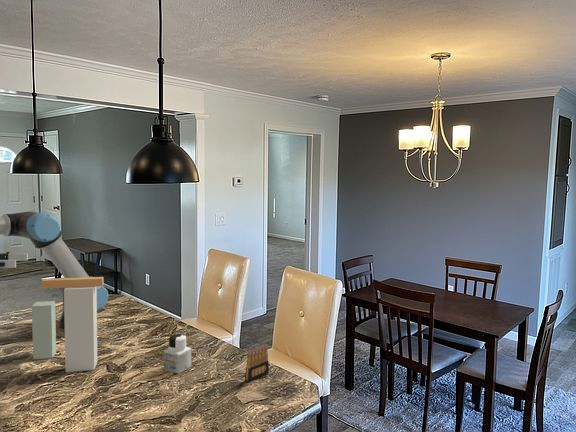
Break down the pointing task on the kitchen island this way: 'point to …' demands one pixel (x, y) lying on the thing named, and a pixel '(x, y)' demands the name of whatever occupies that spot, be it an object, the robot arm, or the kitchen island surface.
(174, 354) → the container
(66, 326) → the post
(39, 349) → the pale green tall block
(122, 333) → the kitchen island surface
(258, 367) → the ammunition clip
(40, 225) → the robot arm
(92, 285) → the bar
